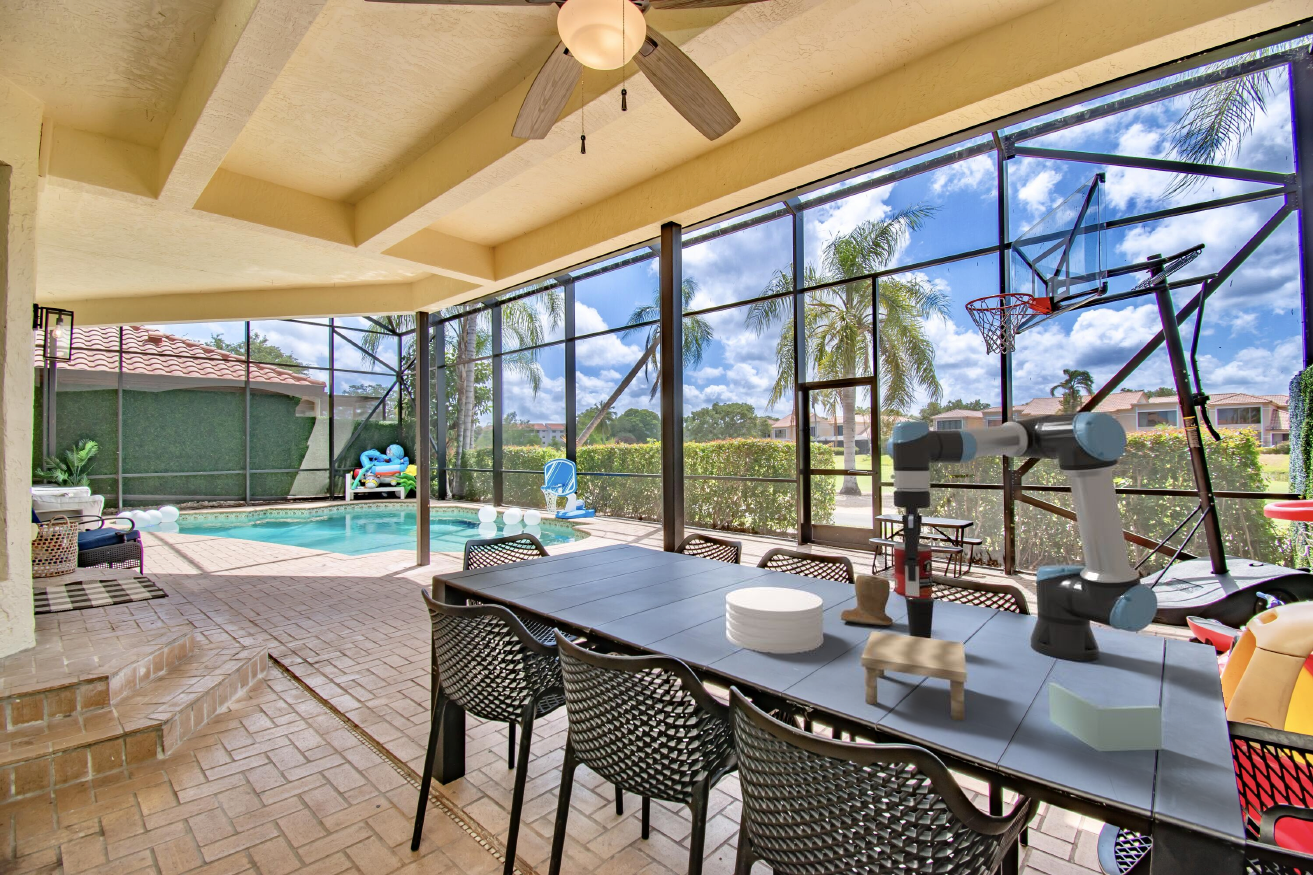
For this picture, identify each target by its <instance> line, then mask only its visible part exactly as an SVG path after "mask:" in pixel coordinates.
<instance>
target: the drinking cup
mask: <svg viewBox="0 0 1313 875" xmlns="http://www.w3.org/2000/svg"><path fill="white" fill-rule="evenodd" d="M904 600H905V604H906V610H907V611H906V613H907V621H908V622H907V623H908V631H909V636H914V637H922V638H930V639H932V638H931V637H932V627H933V626H932V625H933V614H934V602H935V601H936V599H935V598H934V597H933V596H931V597H929V598H909V597H904Z"/></svg>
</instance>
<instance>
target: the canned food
mask: <svg viewBox="0 0 1313 875" xmlns="http://www.w3.org/2000/svg"><path fill="white" fill-rule="evenodd" d="M932 557H933V553H932V546H931V545H929V544H925V543H919V544H918V563H919V565H918V566H919V596H909V595H906V588H905V565H902V562H904V560H905V542H897V543H894V544H893V566H894V567H893V569H894V570H893V571H894V572H893V574H894V590H895V594H897V595H899V596H900V597H904V598H905V597H909V598H929V597H932V594H933V558H932ZM909 559H913V558H909Z"/></svg>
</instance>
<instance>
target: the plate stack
mask: <svg viewBox="0 0 1313 875" xmlns="http://www.w3.org/2000/svg"><path fill="white" fill-rule="evenodd" d="M725 602H726V604H725V611H726V613H725V619H726V622H725V625H726V626H725V628H726V631H725V636H726V638H727V640H728V641H729V642H730V643H732V644H734V645H736V646H738V647H741V648H744V649H747V650H751V651H754V650H755V651H756V652H761V653H767V652H771V653H770V654H797V652H800V653H805V652H804V651H806V652H809V650H810V651H812V650H816V649H818V648H820V647H821V646H822V645H823V644H822V643H824V618H823V616H824V610H823V607H824V601H823V599H822V598H821V597H820V596H819V595H817V594H814V593H812V592H808V591H805V590H801V589H795V588H787V587H786V588H785V587H778V586H777V587H775V586H774V587H773V586H769V587H768V586H762V587H761V586H760V587H759V586H757V587H755V586H754V587H747V588H745V587H744V588H740V589H736V590H733V591H730V592H729V593H727V594H726V596H725ZM821 644H822V645H821ZM820 645H821V646H820ZM819 646H820V647H819ZM817 647H818V648H817ZM815 648H816V649H815Z"/></svg>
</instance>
